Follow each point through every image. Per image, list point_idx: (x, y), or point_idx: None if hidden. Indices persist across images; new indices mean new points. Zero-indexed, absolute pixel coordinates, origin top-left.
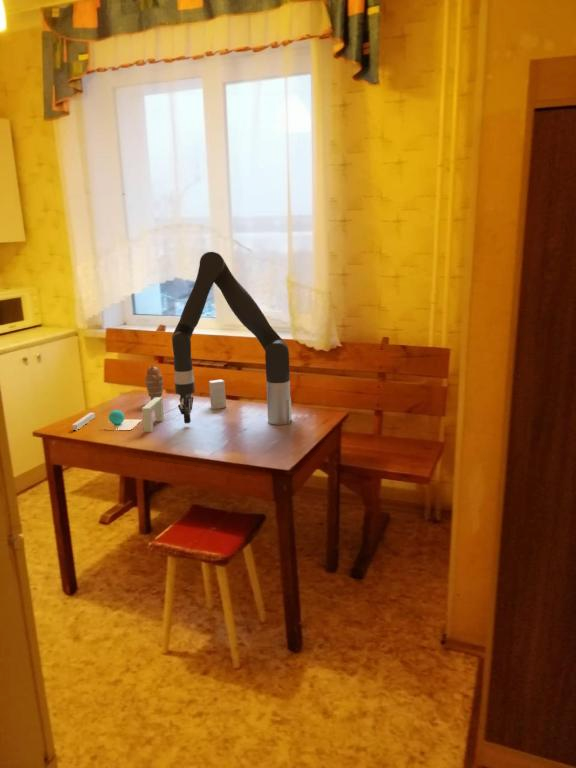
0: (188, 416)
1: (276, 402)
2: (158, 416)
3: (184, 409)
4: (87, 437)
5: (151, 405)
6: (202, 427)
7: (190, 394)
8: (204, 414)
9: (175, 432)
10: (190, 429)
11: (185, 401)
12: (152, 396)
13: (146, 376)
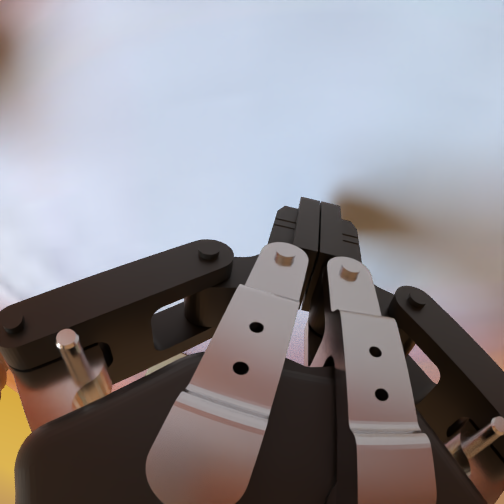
0: (339, 250)
1: None
2: None
3: (501, 387)
4: None
5: None
6: (372, 64)
7: (64, 487)
8: (30, 113)
9: (437, 289)
10: (408, 180)
11: (482, 497)
12: (5, 377)
13: None
